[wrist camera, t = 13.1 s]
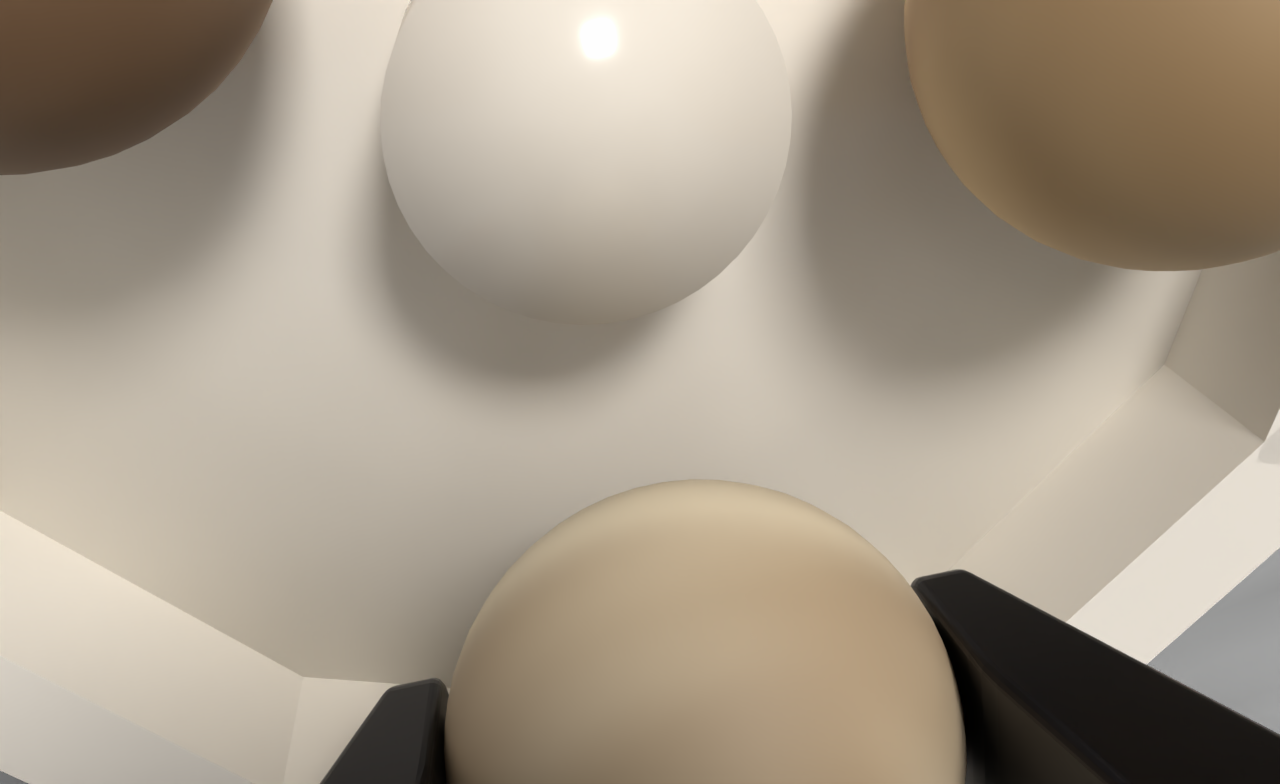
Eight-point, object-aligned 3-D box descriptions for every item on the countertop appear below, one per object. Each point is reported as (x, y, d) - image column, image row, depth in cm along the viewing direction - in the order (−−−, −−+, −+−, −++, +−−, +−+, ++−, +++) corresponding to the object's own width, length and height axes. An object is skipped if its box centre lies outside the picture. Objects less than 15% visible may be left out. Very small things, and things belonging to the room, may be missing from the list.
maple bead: (946, 607, 11) (1159, 950, 7) (617, 821, 11) (681, 1229, 8) (720, 307, 9) (864, 573, 6) (353, 572, 10) (298, 948, 6)
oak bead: (1181, 107, 11) (1470, 348, 8) (806, 136, 10) (986, 409, 8) (1343, -353, 9) (1816, -227, 6) (872, -355, 8) (1167, -211, 5)
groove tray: (199, 879, 14) (148, 1078, 11) (-894, -618, 7) (-1449, -798, 5) (1382, 453, 13) (1559, 576, 11) (1267, -1494, 7) (1621, -2078, 5)
